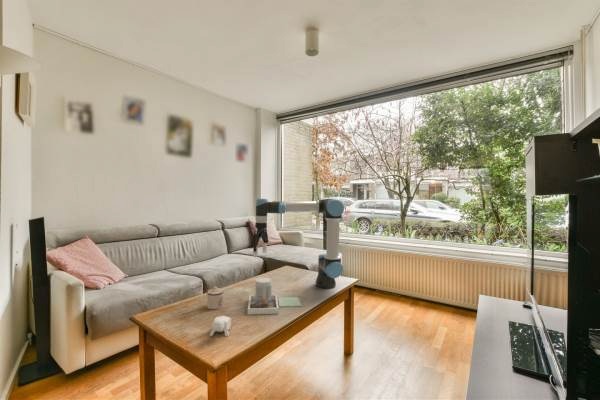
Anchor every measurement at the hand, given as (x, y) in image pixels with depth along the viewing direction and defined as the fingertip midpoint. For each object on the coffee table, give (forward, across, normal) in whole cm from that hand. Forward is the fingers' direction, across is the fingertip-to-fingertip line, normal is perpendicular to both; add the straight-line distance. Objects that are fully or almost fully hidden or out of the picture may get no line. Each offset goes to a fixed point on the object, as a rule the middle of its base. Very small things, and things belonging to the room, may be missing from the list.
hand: (260, 254), depth 179 cm
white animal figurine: (+27, +51, +5) cm, 58 cm away
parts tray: (+27, +15, +10) cm, 33 cm away
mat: (+27, +4, +23) cm, 35 cm away
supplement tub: (+27, +12, +9) cm, 31 cm away
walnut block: (+27, +21, +13) cm, 36 cm away
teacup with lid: (+27, +24, -16) cm, 40 cm away
